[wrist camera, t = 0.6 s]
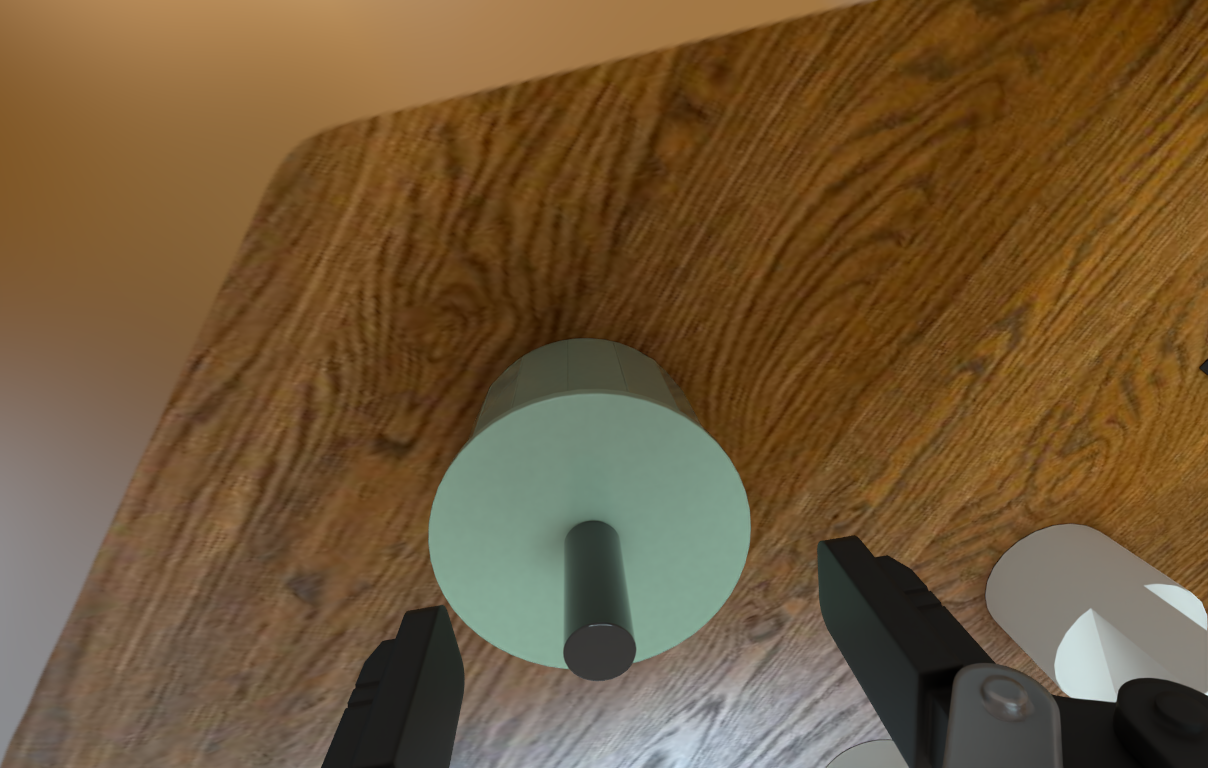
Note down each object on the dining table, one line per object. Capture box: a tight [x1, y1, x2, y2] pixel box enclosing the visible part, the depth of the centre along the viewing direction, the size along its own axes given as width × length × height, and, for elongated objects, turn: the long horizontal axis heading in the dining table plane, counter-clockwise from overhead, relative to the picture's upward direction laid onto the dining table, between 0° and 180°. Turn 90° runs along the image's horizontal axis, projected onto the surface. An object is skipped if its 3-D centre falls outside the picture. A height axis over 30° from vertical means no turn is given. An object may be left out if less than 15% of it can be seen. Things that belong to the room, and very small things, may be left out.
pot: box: [467, 338, 702, 442], centre depth 30 cm, size 13×13×10 cm
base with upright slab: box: [985, 524, 1208, 702], centre depth 34 cm, size 9×9×12 cm
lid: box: [428, 389, 751, 681], centre depth 22 cm, size 14×14×7 cm
